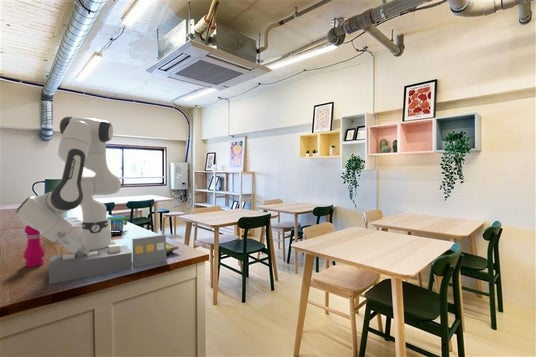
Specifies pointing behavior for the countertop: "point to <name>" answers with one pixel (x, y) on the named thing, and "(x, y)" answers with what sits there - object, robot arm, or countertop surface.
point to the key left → (68, 256)
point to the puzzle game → (170, 248)
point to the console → (89, 264)
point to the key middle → (92, 253)
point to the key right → (113, 248)
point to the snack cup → (117, 222)
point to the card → (149, 250)
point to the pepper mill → (33, 248)
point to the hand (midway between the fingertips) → (88, 252)
